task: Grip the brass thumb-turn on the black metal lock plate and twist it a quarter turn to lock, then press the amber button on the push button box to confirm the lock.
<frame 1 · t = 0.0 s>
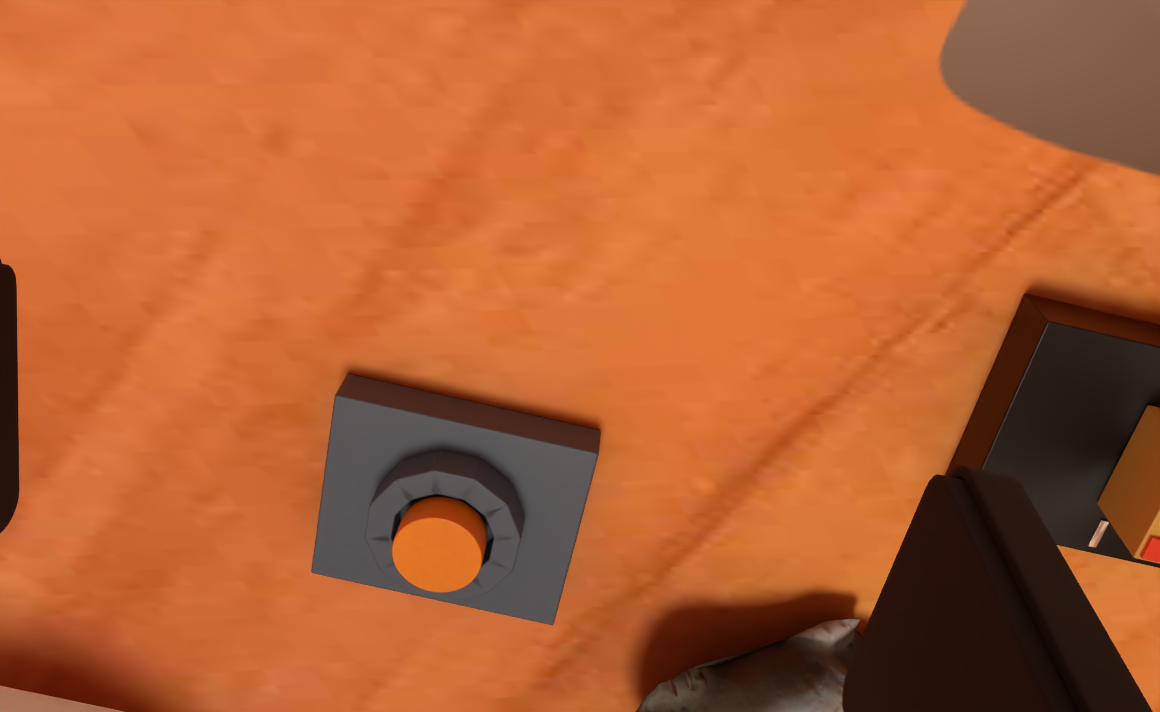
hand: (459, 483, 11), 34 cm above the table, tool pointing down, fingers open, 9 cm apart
push button box: (457, 490, 52), on the table
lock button: (440, 544, 48), point 4 cm above the table, slide at 0.1 cm
lock plate: (1109, 423, 48), on the table
thumbturn: (1158, 485, 43), point 5 cm above the table, hinge at 0.0°
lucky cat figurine: (787, 705, 56), on the table
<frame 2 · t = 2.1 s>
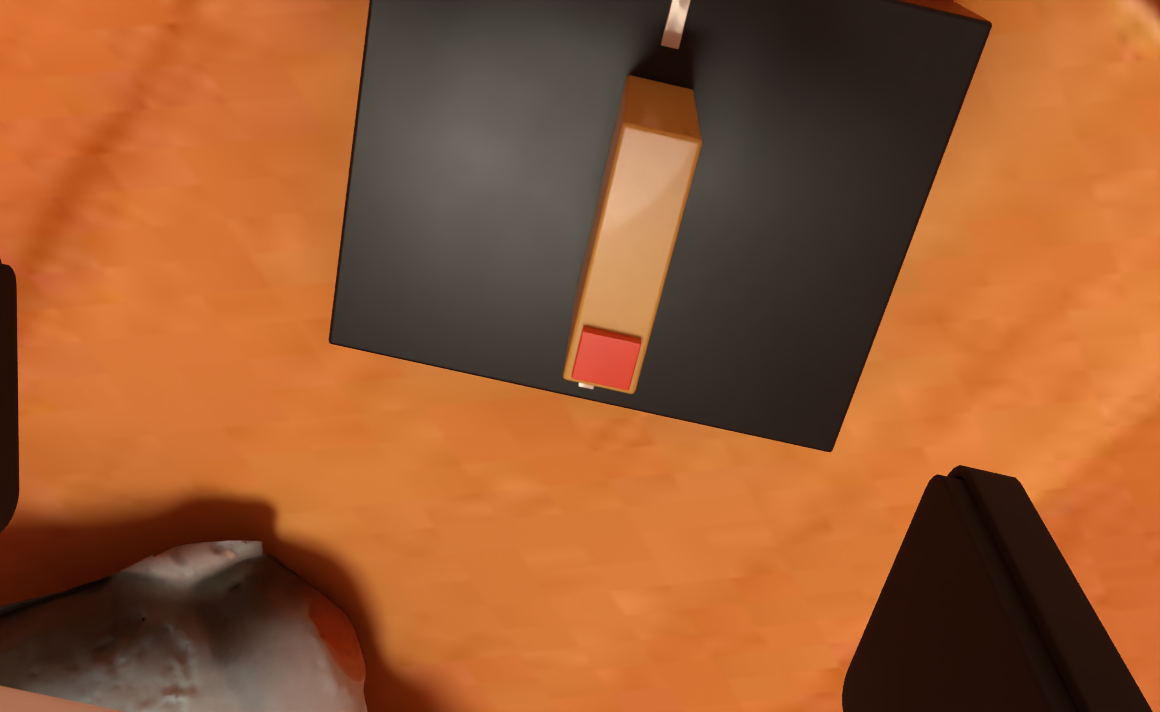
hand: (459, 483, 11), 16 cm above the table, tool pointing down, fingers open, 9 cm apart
lock plate: (634, 158, 25), on the table
thumbturn: (630, 231, 21), point 5 cm above the table, hinge at 0.0°
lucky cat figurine: (214, 693, 34), on the table
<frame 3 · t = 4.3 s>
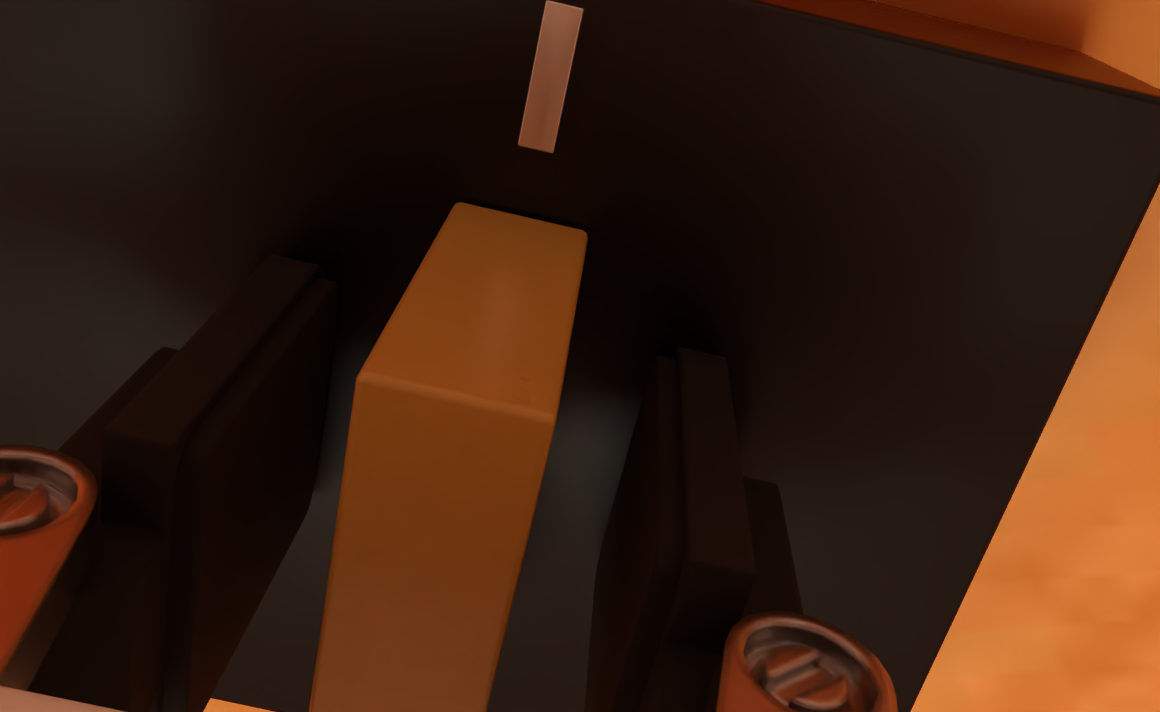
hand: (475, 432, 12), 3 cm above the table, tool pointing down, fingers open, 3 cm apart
lock plate: (512, 315, 15), on the table
thumbturn: (446, 533, 10), point 5 cm above the table, hinge at 0.0°
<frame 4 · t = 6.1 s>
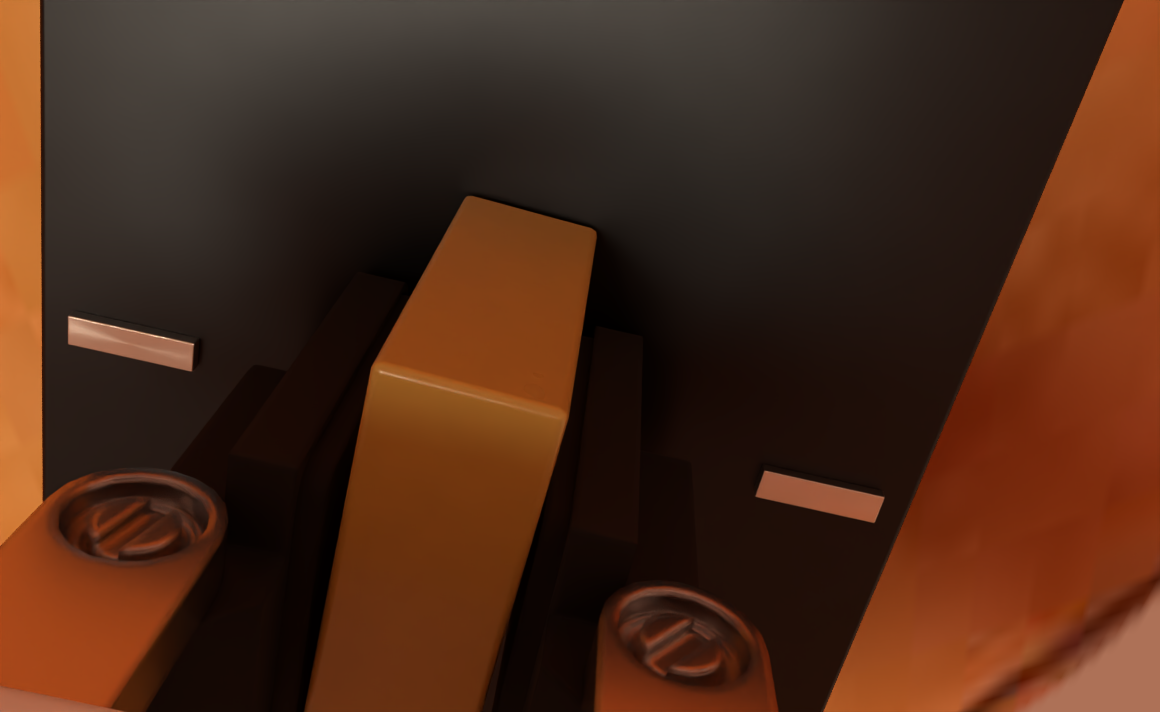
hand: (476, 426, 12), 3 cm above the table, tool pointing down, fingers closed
lock plate: (513, 310, 15), on the table
thumbturn: (446, 525, 10), point 5 cm above the table, hinge at 87.8°
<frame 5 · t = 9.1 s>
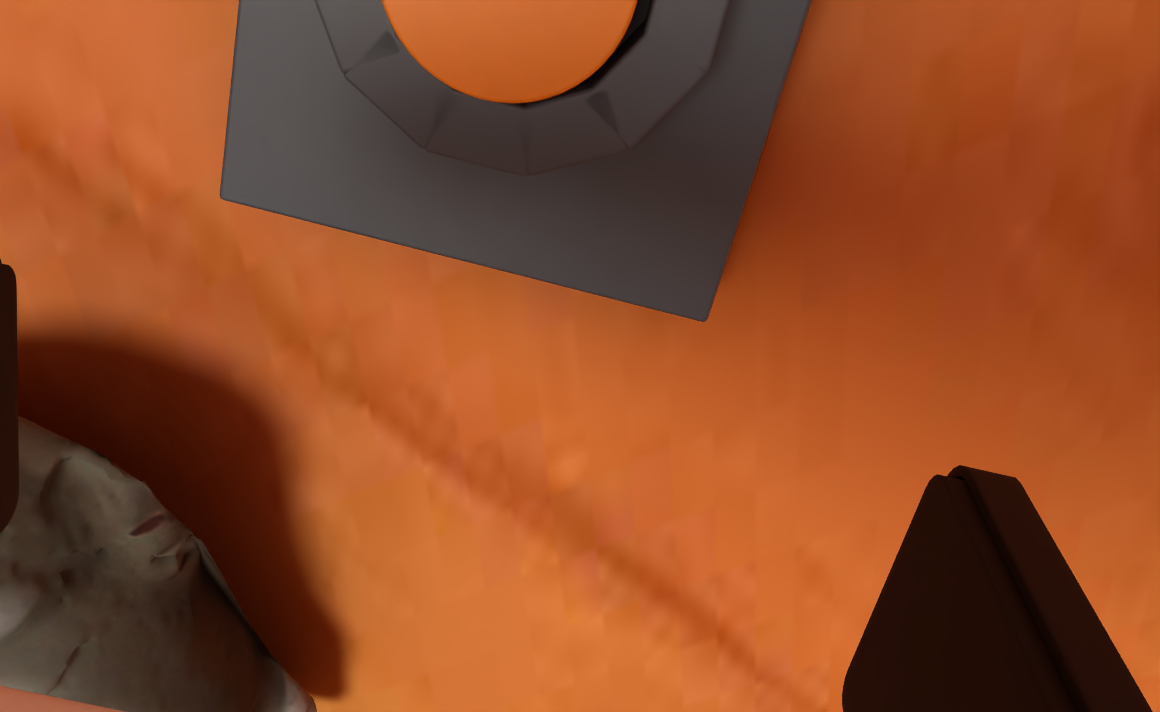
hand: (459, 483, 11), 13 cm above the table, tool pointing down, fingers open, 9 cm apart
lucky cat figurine: (68, 601, 29), on the table
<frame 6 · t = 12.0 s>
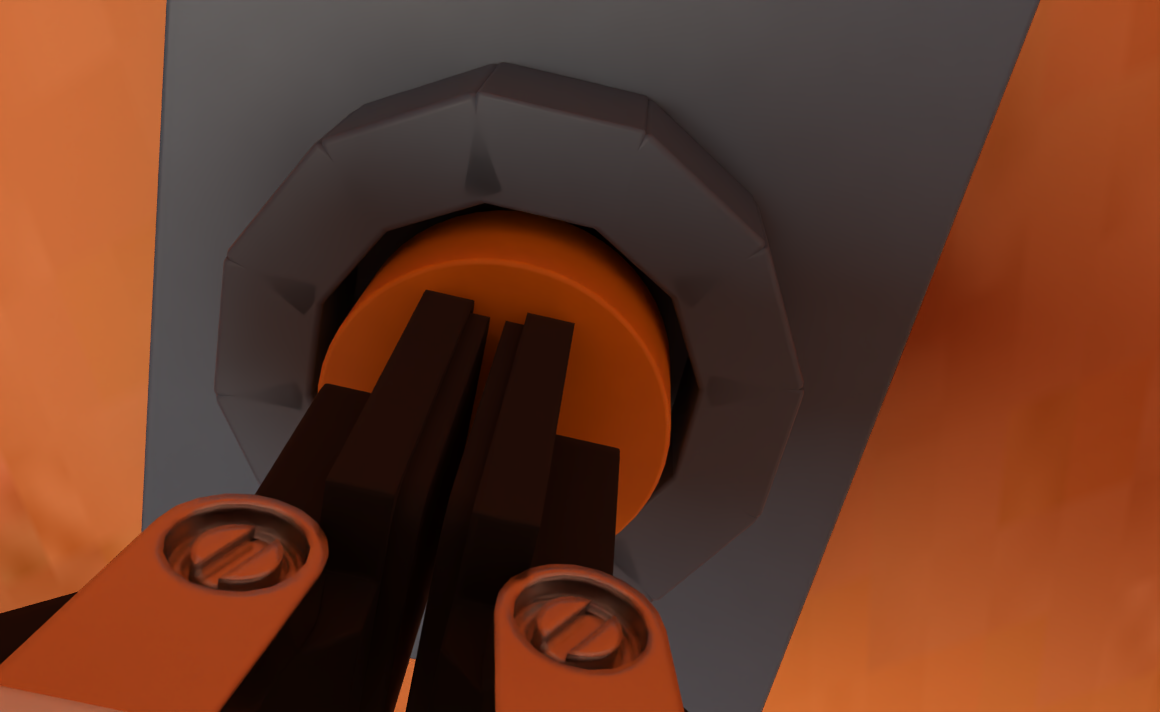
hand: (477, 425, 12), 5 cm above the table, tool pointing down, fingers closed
push button box: (537, 274, 16), on the table
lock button: (502, 392, 13), point 4 cm above the table, slide at -0.4 cm, touching gripper
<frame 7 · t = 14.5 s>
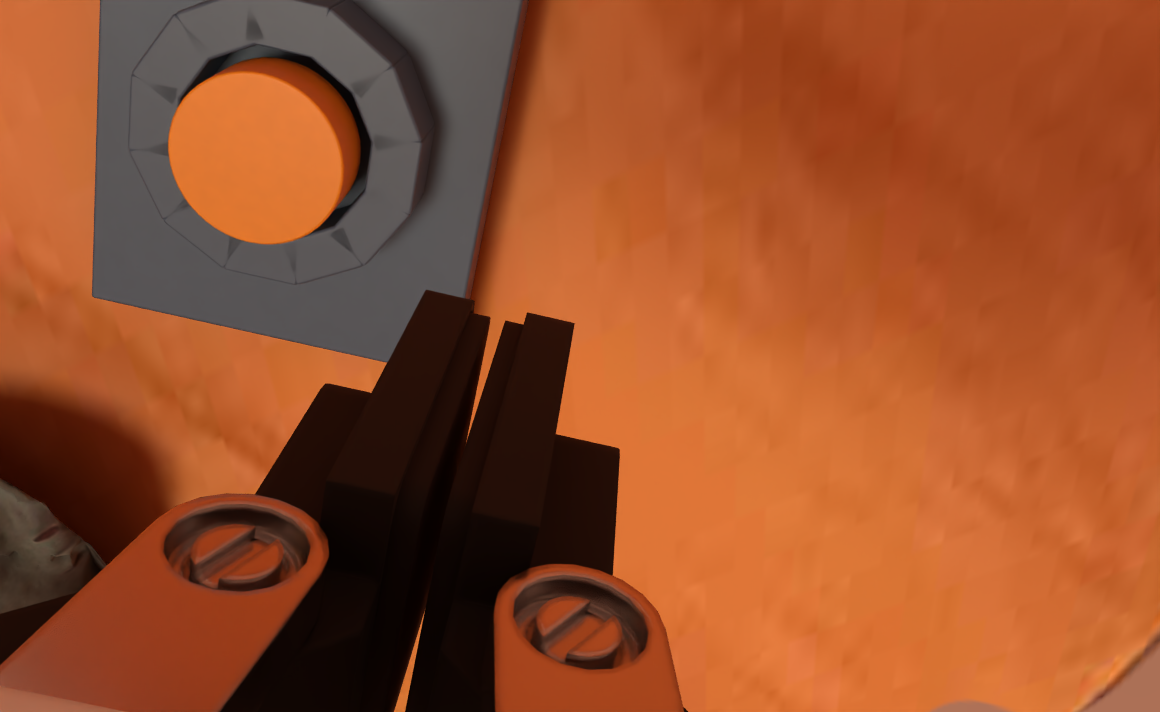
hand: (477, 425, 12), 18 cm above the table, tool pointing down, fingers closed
push button box: (318, 108, 29), on the table
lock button: (267, 151, 25), point 4 cm above the table, slide at 0.1 cm
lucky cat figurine: (4, 594, 37), on the table
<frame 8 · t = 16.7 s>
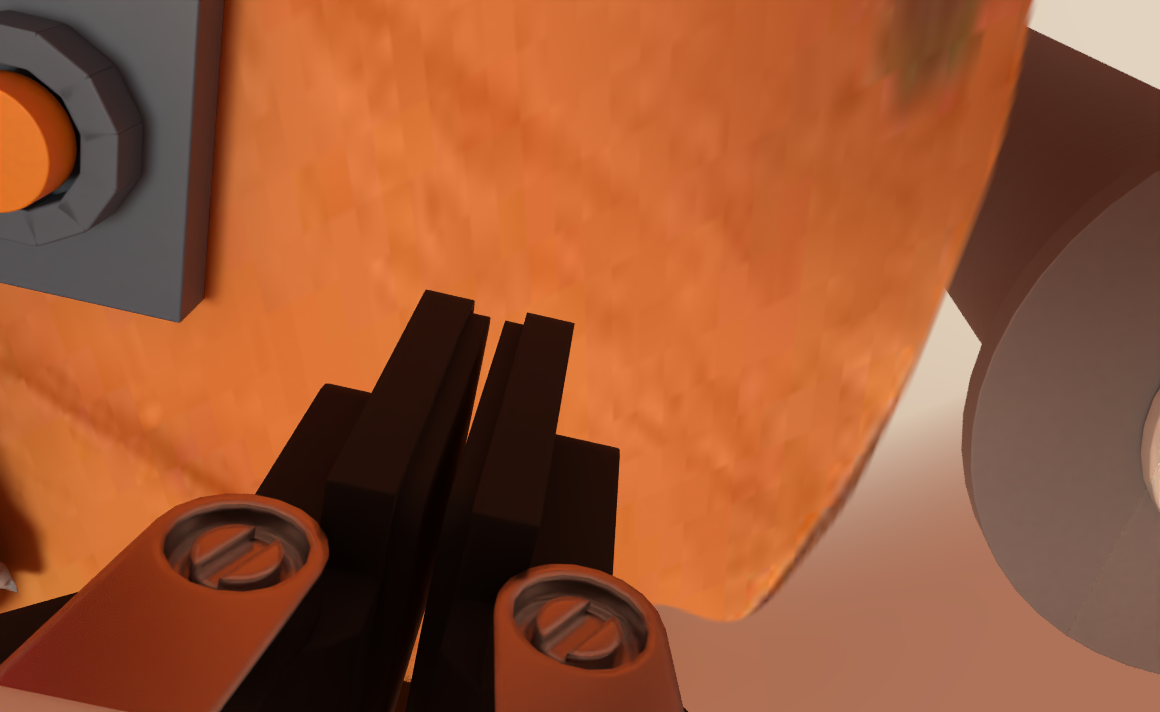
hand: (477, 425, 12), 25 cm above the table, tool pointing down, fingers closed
push button box: (70, 109, 37), on the table
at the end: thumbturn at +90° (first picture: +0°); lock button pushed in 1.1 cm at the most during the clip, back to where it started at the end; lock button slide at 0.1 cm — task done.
